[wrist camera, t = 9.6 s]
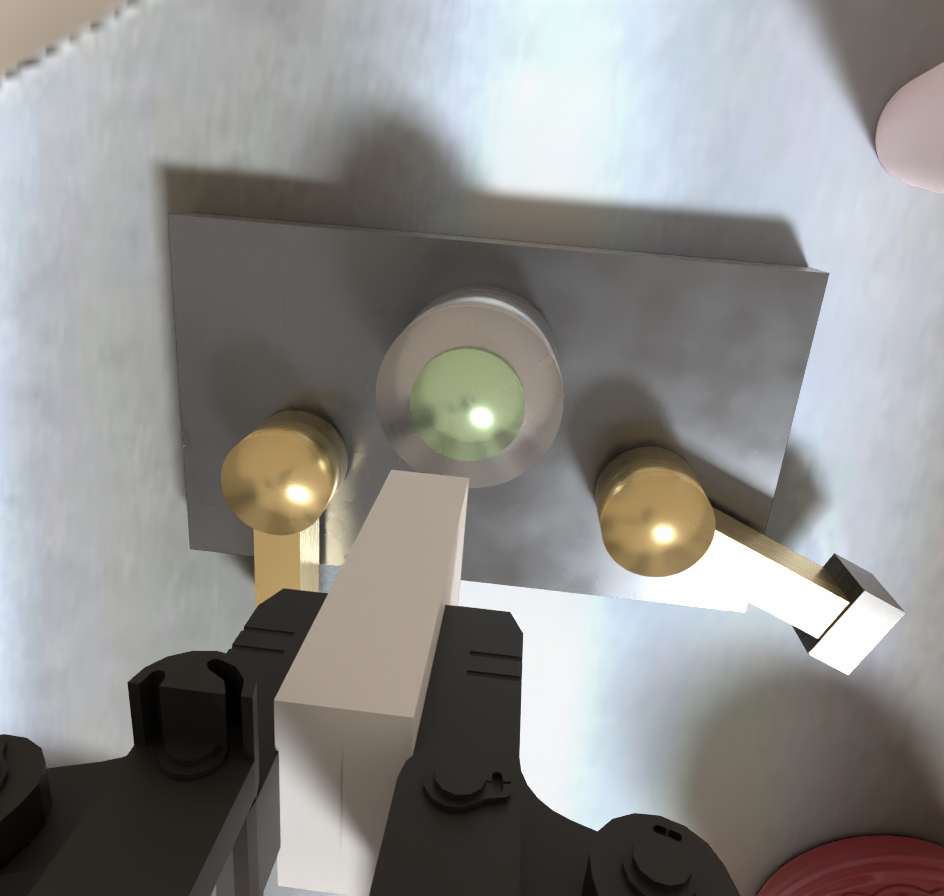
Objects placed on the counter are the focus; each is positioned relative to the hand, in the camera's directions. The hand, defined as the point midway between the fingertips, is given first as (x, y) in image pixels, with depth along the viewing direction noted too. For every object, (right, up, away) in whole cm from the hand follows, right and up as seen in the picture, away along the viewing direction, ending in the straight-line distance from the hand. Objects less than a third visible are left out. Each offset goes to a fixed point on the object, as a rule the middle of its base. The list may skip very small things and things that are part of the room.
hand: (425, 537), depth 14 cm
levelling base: (+1, +3, +16) cm, 17 cm away
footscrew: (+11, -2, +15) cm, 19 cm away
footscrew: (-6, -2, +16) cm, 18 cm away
